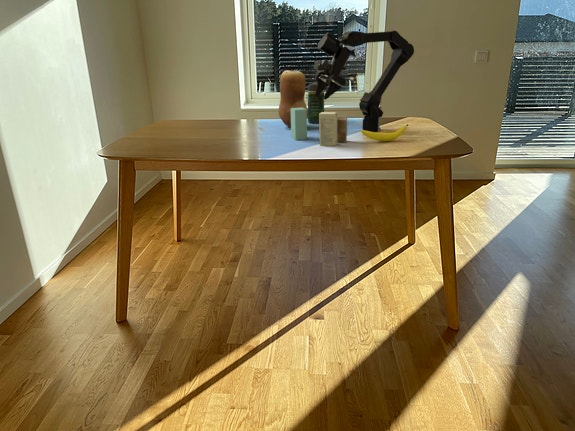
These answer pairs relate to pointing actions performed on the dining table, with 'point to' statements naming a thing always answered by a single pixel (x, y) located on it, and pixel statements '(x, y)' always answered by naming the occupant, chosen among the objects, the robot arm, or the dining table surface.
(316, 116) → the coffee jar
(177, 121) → the dining table surface
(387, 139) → the banana
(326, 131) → the skincare box
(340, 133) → the walnut block
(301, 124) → the teal block
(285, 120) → the butternut squash
